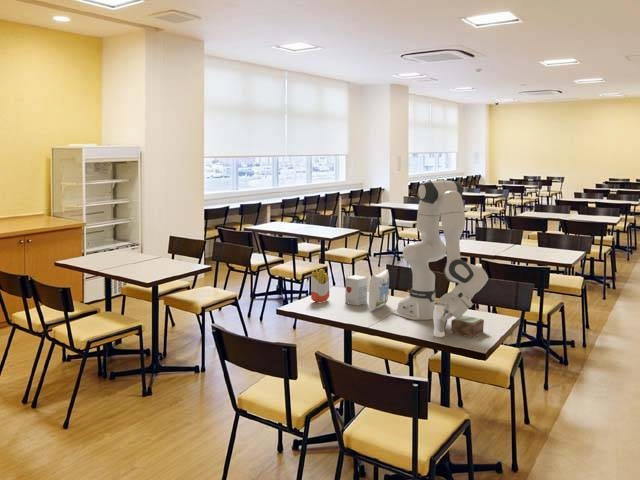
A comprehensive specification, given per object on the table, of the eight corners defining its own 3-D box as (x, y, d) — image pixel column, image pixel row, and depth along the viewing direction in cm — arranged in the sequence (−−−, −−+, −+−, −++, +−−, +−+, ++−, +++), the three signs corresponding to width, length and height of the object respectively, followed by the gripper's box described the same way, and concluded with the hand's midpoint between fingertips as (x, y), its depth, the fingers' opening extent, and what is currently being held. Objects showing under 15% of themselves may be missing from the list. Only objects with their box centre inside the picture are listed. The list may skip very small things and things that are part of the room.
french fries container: (329, 300, 326) (330, 269, 323) (317, 304, 318) (317, 272, 315) (323, 299, 329) (324, 268, 326) (310, 302, 321) (311, 271, 318)
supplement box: (344, 303, 320) (345, 277, 318) (354, 300, 327) (354, 274, 324) (357, 306, 314) (358, 279, 312) (367, 303, 321) (368, 276, 319)
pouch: (363, 310, 305) (364, 273, 302) (380, 303, 321) (381, 268, 318) (376, 313, 301) (377, 275, 298) (393, 305, 317) (394, 269, 314)
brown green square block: (450, 332, 268) (451, 319, 267) (461, 327, 277) (461, 314, 276) (473, 337, 261) (473, 323, 260) (483, 332, 270) (483, 318, 269)
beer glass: (432, 332, 268) (433, 301, 266) (447, 334, 266) (449, 302, 264) (431, 337, 261) (432, 305, 259) (446, 338, 259) (448, 306, 257)
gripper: (446, 286, 272) (426, 307, 272) (465, 296, 252) (443, 319, 252) (454, 295, 274) (434, 316, 273) (474, 306, 254) (452, 329, 253)
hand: (439, 318), depth 262 cm, fingers closed on beer glass, 7 cm apart
